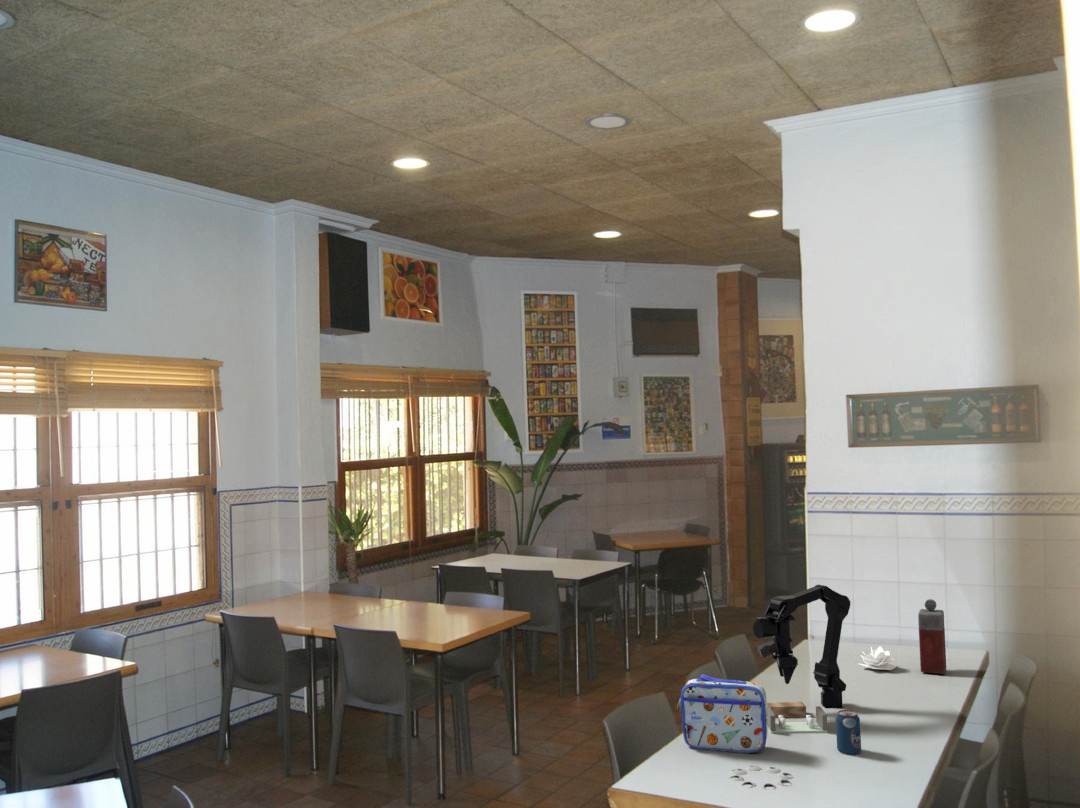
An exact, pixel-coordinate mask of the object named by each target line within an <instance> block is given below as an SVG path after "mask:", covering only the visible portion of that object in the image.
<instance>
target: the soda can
mask: <svg viewBox="0 0 1080 808" xmlns="http://www.w3.org/2000/svg"><path fill="white" fill-rule="evenodd" d="M835 730H836V748H837V751H838V752H839V753H841V754H842V755H849V756H850V755H851V756H853V755H854V756H855V755H860V753H861V751H862V738H861V737H862V736H861V735H862V734H861V733H862V732H861V720H860V716H859V714H858V712H857V711H854V710H851V709H841V710H838V711H837V714H836V717H835Z"/></svg>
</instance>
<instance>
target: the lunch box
mask: <svg viewBox="0 0 1080 808" xmlns="http://www.w3.org/2000/svg"><path fill="white" fill-rule="evenodd" d="M680 692H681V693H680V697H679V699H678V700H679V701H678V703H677V706H676V709H677V710H678V709H679V715H681V723H682V735H683V739H684V742H685V744H686V745H687V747H689V748H692V749H695V748H697V749H696V750H699V749H700V750H706V749H709V751H716V750H720V751H719V752H725V751H730V752H729V753H742V754H743V753H748V754H752V753H760V752H761V751H763V750H764V749H765V747H766V744H767V738H768V727H767V725H768V721H767V703H768V702H767V692H766V690H765V688H764V686H762V684H759V683H757V682H751V681H747V680H745V681H744V680H737V679H723V678H716V677H712V676H710V675H707V674H703V673H702V674H701V675H700V678H693V679H689V680H688V681H687V682H686V683H685V685H684V686H683V688H682V689H681V691H680Z"/></svg>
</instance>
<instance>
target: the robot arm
mask: <svg viewBox="0 0 1080 808" xmlns="http://www.w3.org/2000/svg"><path fill="white" fill-rule="evenodd" d="M818 600H820V601H821V602H823V603H824V610H825V613H826V616H827V624H826V631H825V639H824V644H823V650H822V657H821V659H820V661H818V662H817V661H815V663H814V670H813V672H812V674H814V675H813V679H814V680H815V682H816V683H817V685H818V688H821V691H820V704H821V705H822V707H824V709H845V707H844V705H843V692H845V691H846V690H847V684H846V683H845V682H844V681H843V679H841V671H840V667H839V665H838V656H839V654H838V653H839V649H840V640H841V635H842V627H843V622H844V620H845V619H846V617H848V614H849V612H850V608H851V600H850V598H849V597H848V596H847V595H844V594H843V595H842V594H841V593H839V592H837V591H835V590H833V589H832V588H830V587H829V586H827V585H824V584H816V585H814V586H813V587H810V588H807V589H804V590H802V591H798V592H797V593H794V594H791V595H779V596H774V597H772V598H771V599H770V602H769V605H768V606H767V607H766V608H767V609H766V610H765V612H764V614H763V617H761V616H760V617H756V620H755V622H754V624H753V626H752V631H753V634H754V636H755V637H756V638H757V639H765V638H771V637H772V638H771V641H768V642H767V641H766V642H763V643H762V644H760V645H757V650H758V652H759V655H760V657H761V658H766V657H767V656H771V658H773V659H774V660H775V661H776V664H777V668H778V672H779V676H780V677H781V678H782V677H783V678H784V683H785V685H789V684H790V682H791V680H792V677H793V674H794V672H795V670H796V668H797V667H798V665H799V664H798V663H799V662H798V658H797V657H796V656H795V655H794V650H793V648H792V642H793V638H792V630H791V629H792V628H791V622H792V621H796V620H797V619H796V617H794V616H793V615H792V614H793V613H795V612H796V611H797V609H798V608H799V607H802V606H805V605H807V604H811V603H813V602H815V601H818Z"/></svg>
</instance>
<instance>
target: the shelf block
mask: <svg viewBox="0 0 1080 808" xmlns="http://www.w3.org/2000/svg"><path fill="white" fill-rule="evenodd" d="M767 707H770V708H771V710H772V712H773V713H774V715H775V718H779V715H783V716H784V718H795V717H796V718H797V717H798V718H800V717H806V715H807V706H806V705H805V703H804V702H803V701H792V702H791V701H784V702H781V701H780V702H767Z"/></svg>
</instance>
